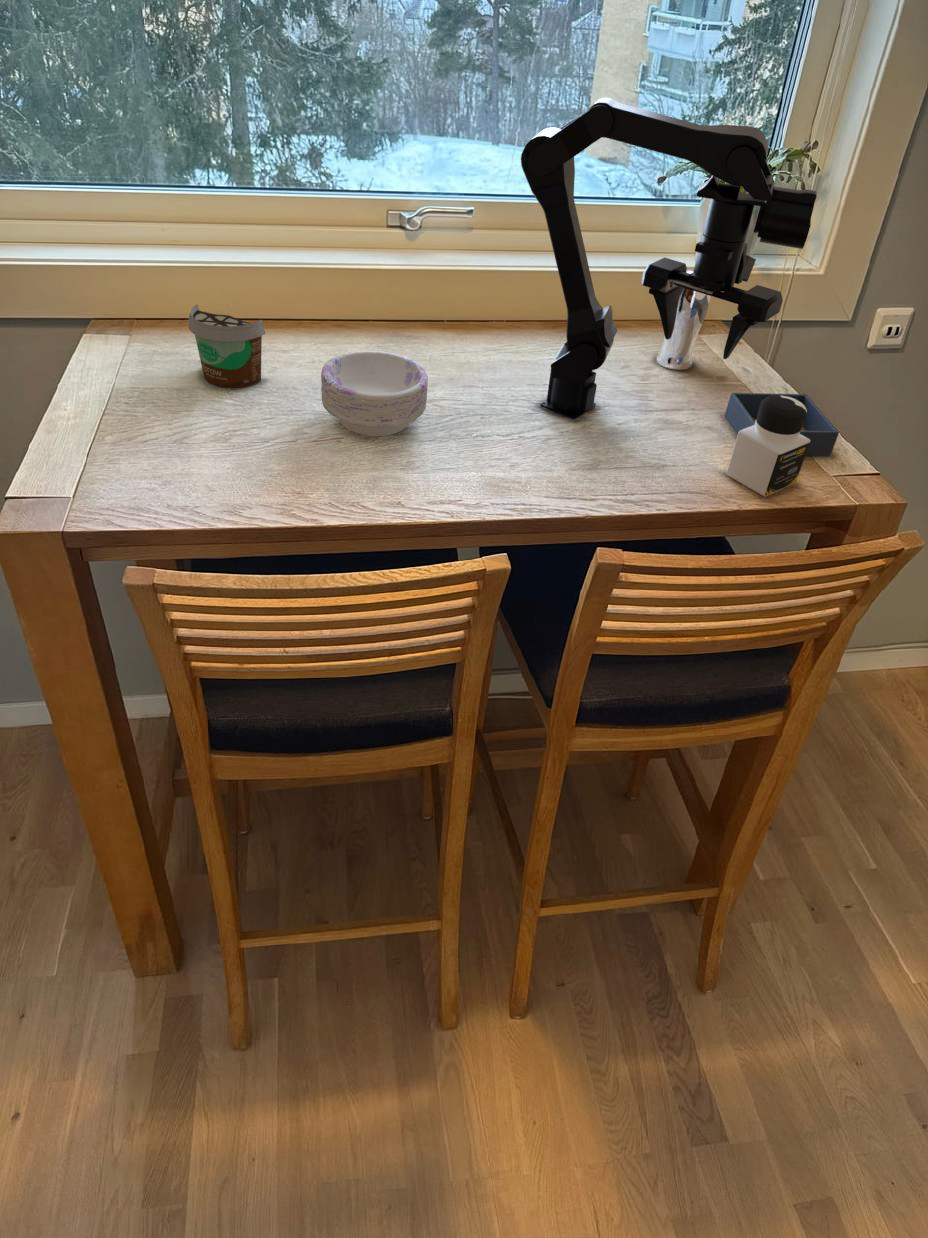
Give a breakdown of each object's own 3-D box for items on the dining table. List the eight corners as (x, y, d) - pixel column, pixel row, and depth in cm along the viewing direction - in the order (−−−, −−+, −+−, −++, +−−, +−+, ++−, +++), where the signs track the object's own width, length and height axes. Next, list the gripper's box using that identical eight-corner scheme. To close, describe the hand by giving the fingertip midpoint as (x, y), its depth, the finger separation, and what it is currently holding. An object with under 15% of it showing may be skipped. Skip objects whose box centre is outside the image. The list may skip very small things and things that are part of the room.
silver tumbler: (693, 373, 154) (715, 285, 144) (653, 367, 155) (671, 279, 145) (694, 357, 159) (715, 271, 150) (654, 351, 160) (673, 265, 150)
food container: (178, 380, 139) (169, 316, 132) (202, 365, 143) (194, 303, 137) (247, 398, 136) (241, 334, 129) (269, 382, 140) (264, 320, 134)
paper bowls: (446, 430, 132) (449, 380, 127) (358, 457, 125) (357, 404, 120) (389, 389, 141) (389, 341, 136) (303, 412, 134) (300, 361, 129)
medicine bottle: (764, 498, 124) (791, 419, 116) (724, 474, 128) (747, 397, 120) (796, 484, 128) (823, 406, 120) (756, 461, 132) (780, 385, 124)
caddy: (751, 455, 133) (758, 431, 131) (724, 415, 142) (731, 392, 140) (830, 456, 135) (839, 432, 132) (798, 416, 144) (806, 393, 141)
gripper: (813, 240, 120) (779, 352, 130) (688, 207, 129) (665, 314, 139) (781, 259, 113) (747, 375, 123) (651, 222, 122) (629, 334, 132)
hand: (696, 348), depth 129 cm, fingers open, 9 cm apart
